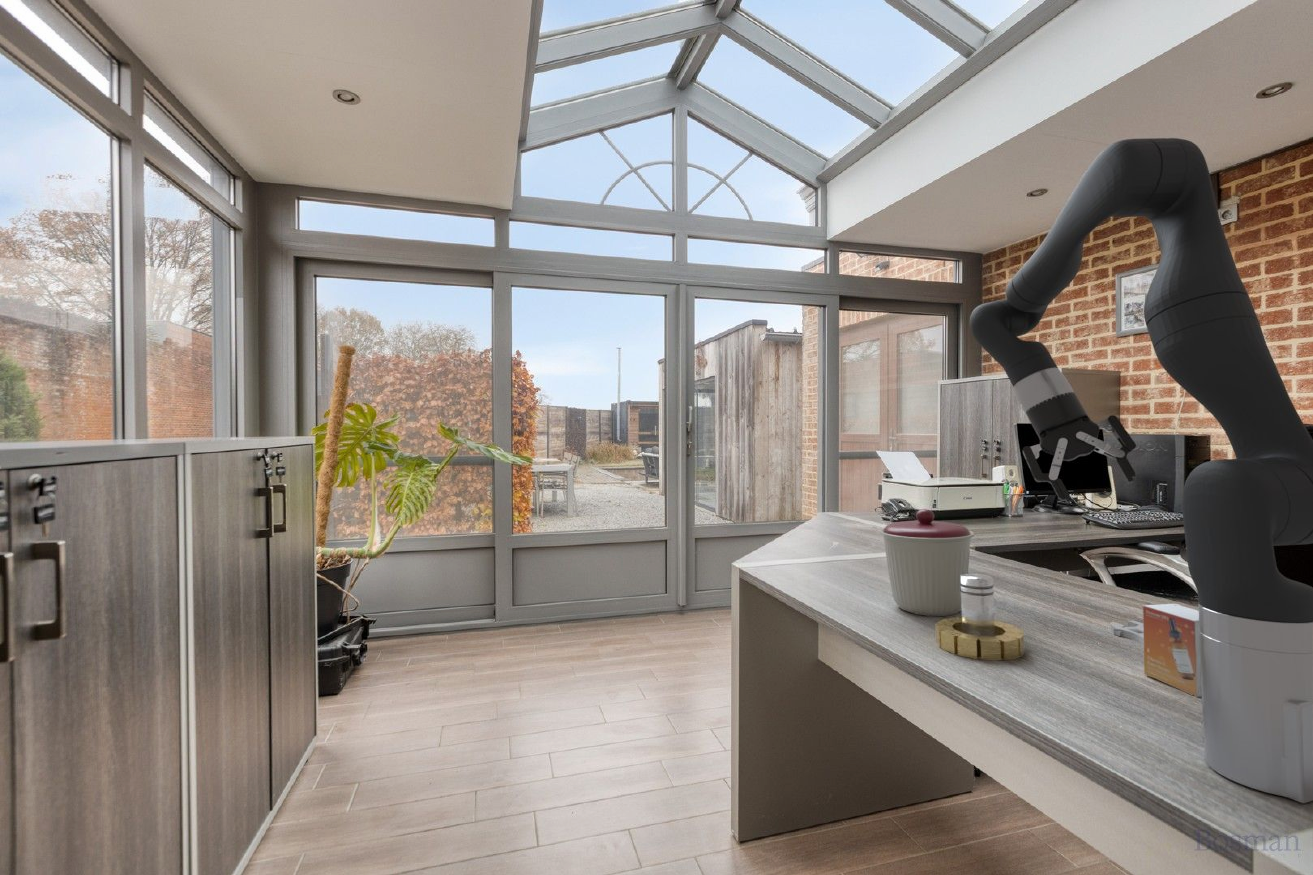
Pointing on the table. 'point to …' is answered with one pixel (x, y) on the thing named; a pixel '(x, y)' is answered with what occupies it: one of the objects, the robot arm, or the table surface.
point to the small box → (1173, 646)
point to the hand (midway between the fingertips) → (1099, 492)
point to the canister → (927, 563)
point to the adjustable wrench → (1129, 630)
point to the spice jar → (977, 604)
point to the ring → (980, 641)
